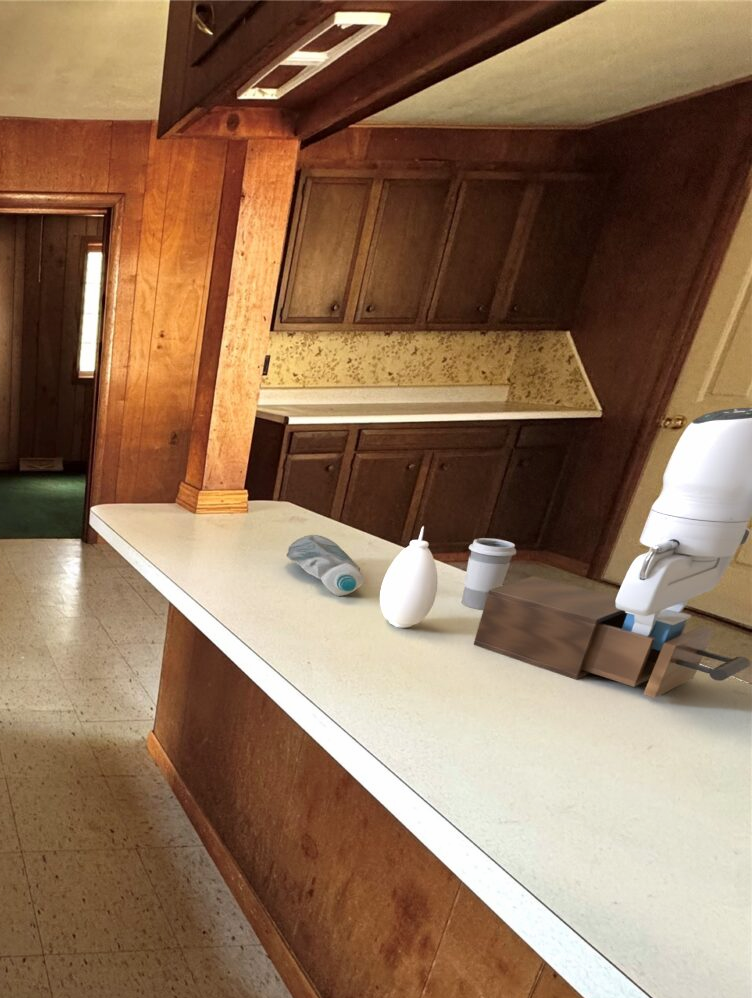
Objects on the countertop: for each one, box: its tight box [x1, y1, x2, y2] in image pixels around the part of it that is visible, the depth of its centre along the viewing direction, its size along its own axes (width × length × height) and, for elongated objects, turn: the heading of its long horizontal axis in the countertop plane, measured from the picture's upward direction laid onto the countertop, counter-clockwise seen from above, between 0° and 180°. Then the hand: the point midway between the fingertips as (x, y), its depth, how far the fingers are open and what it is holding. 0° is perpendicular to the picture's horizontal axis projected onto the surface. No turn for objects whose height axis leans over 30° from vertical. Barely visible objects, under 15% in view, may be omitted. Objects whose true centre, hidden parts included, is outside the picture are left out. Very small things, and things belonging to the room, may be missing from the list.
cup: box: [461, 537, 517, 610], centre depth 120 cm, size 7×7×12 cm
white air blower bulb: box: [379, 525, 439, 629], centre depth 112 cm, size 8×8×18 cm
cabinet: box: [473, 575, 626, 680], centre depth 102 cm, size 14×13×10 cm
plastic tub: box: [622, 609, 692, 651], centre depth 92 cm, size 5×5×4 cm
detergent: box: [286, 534, 365, 597], centre depth 135 cm, size 13×7×25 cm
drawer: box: [582, 613, 751, 698], centre depth 93 cm, size 17×11×8 cm, turn 26°
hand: (651, 630), depth 92 cm, fingers closed on plastic tub, 4 cm apart
